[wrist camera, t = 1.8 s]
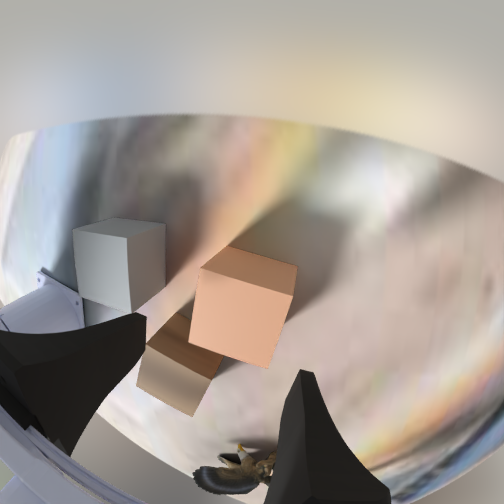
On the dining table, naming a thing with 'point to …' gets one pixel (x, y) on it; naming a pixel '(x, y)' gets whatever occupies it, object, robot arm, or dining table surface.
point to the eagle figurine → (236, 474)
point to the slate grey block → (120, 262)
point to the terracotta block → (242, 305)
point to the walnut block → (177, 366)
